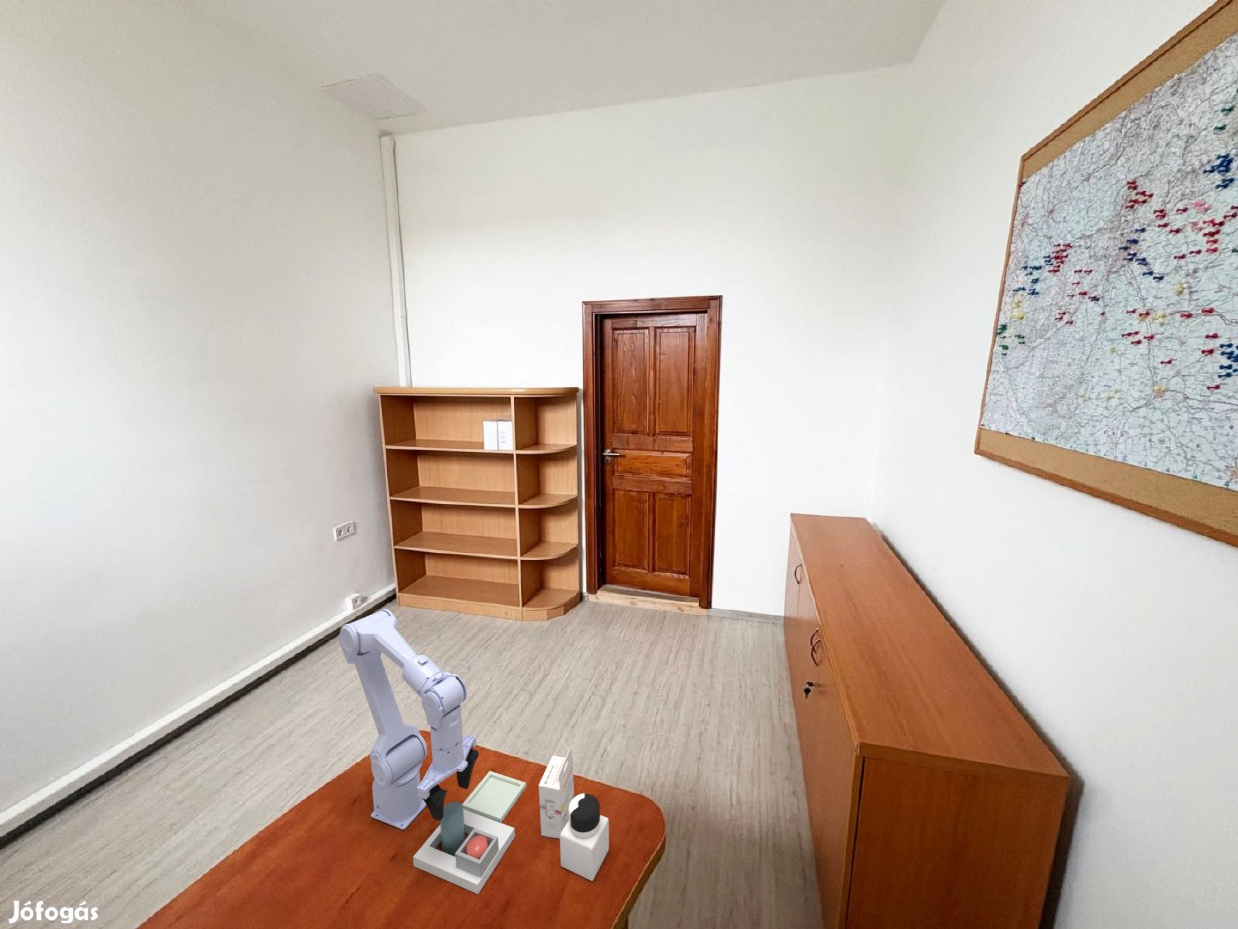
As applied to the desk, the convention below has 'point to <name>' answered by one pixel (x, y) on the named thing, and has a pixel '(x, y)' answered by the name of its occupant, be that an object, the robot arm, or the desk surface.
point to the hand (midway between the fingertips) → (451, 802)
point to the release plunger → (477, 847)
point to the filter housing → (463, 866)
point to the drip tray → (494, 796)
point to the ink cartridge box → (556, 795)
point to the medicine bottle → (584, 837)
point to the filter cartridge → (452, 828)
